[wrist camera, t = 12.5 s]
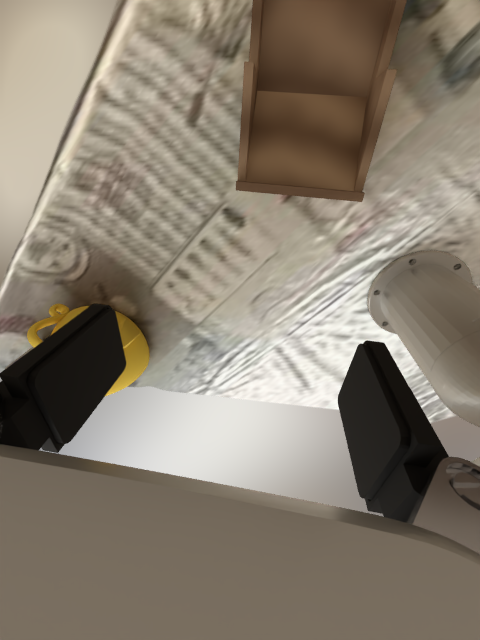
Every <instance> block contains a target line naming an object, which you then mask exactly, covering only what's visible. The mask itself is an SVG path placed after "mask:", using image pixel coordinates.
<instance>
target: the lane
mask: <svg viewBox="0 0 480 640" xmlns="http://www.w3.org/2000/svg"><path fill="white" fill-rule="evenodd" d="M406 1H407V0H253V8H252V24H251V39H250V55H249V62H244V80H243V97H242V114H241V132H240V149H239V167H238V181H236V190H239V191H250V192H261V193H271V194H282V195H293V196H304V197H315V198H325V199H336V200H347V201H358V202H362V200H363V197H364V194H365V193H364V192H362V190H363V187H364V183H365V180H366V176H367V173H368V169H369V166H370V162H371V159H372V156H373V152H374V149H375V145H376V142H377V138H378V135H379V131H380V128H381V124H382V121H383V118H384V114H385V111H386V107H387V104H388V100H389V97H390V93H391V90H392V86H393V83H394V80H395V76H396V73H397V69H388V67H389V63H390V59H391V56H392V52H393V49H394V45H395V41H396V38H397V34H398V30H399V27H400V23H401V19H402V16H403V12H404V9H405V5H406Z"/></svg>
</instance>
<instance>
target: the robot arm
mask: <svg viewBox="0 0 480 640" xmlns="http://www.w3.org/2000/svg"><path fill="white" fill-rule="evenodd" d="M409 260H411V261H409ZM376 290H377V291H376ZM367 306H368V310H369V313H370V315H371V317H372V318H373V320H374V321H375V322H376V324H377V325H379V326H380V327H381V328H383V329H384V330H386V331H388V332H391V333H395V334H397V335H398V336H399V338H400V339H401V341H402V342H403V344H404V345H405V347H406V348H407V350H408V351H409V353H410V354H411V356H412V357H413V359H414V360H415V362H416V363H417V365H418V366H419V368H420V369H421V371H422V372H423V374H424V375H425V377H426V378H427V380H428V381H429V383H430V384H431V386H432V387H433V389H434V391H435V392H436V394H437V395H438V396H439V398H440V399H441V401H442V402H443V403H444V404H445V405H446V407H448V408H449V409H450V410H451V411H452V412H453V413H454V414H456V415H457V416H459V417H460V418H462V419H463V420H465V421H467V422H469V423H471V424H474V425H475V426H478V427H480V289H479V288H477V287H476V286H474V285H473V284H472V276H471V273H470V270H469V268H468V267H467V266H466V264H465V263H464V262H463V261H461V260H460V259H459V258H457V257H455V256H453V255H451V254H449V253H446V252H442V251H435V250H428V251H419V252H415V253H411V254H408V255H406V256H403V257H401V258H399V259H397V260H395V261H394V262H392V263H391V264H389V265H388V266H387V267H386V268H384V269H383V270H382V271H381V272H380V273H379V275H378V276H377V277H376V278H375V280H374V281H373V283H372V285H371V287H370V290H369V293H368V298H367ZM125 368H126V358H125V353H124V349H123V344H122V339H121V335H120V330H119V326H118V321H117V316H116V312H115V311H114V310H112V308H111V307H110V306H109V305H101V304H92V305H90V306H89V307H88V308H86V309H85V310H84V311H82V312H81V313H80V314H78V315H77V316H76V317H74V318H73V319H72V320H70V321H69V322H68V323H66V324H65V325H64V326H62V327H61V328H60V329H58V330H57V331H56V332H54V333H53V334H52V335H50V336H49V337H48V338H46V339H45V340H44V341H42V342H41V343H40V344H38V345H37V346H36V347H34V348H33V349H32V350H30V351H29V352H28V353H26V354H25V355H24V356H22V357H21V358H20V359H18V360H17V361H16V362H14V363H13V364H12V365H10V366H9V367H8V368H6V369H5V370H4V371H2V372H1V373H0V377H1V379H2V382H0V640H480V457H479V458H477V459H476V460H474V461H471V462H470V461H468V460H465V459H462V458H458V457H449V456H448V454H447V453H446V451H445V449H444V447H443V446H442V444H441V442H440V440H439V439H438V437H437V435H436V433H435V431H434V430H433V428H432V426H431V424H430V422H429V421H428V419H427V417H426V415H425V414H424V412H423V410H422V408H421V407H420V405H419V403H418V401H417V399H416V398H415V396H414V394H413V392H412V391H411V389H410V387H409V386H408V384H407V383H406V381H405V379H404V377H403V375H402V374H401V372H400V370H399V368H398V367H397V365H396V363H395V361H394V359H393V358H392V356H391V354H390V352H389V351H388V349H387V347H386V345H385V344H384V343H381V342H374V341H365V342H364V344H359V345H358V347H357V350H356V352H355V355H354V357H353V360H352V362H351V365H350V367H349V370H348V372H347V375H346V377H345V380H344V382H343V385H342V387H341V390H340V392H339V395H338V405H339V410H340V414H341V418H342V422H343V427H344V431H345V436H346V440H347V444H348V449H349V453H350V457H351V461H352V466H353V470H354V475H355V479H356V483H357V487H358V492H359V495H360V497H361V498H364V499H365V501H366V505H367V509H368V511H372V512H377V513H382V514H383V515H384V517H382V516H378V515H373V514H369V513H364V512H359V511H355V510H350V509H345V508H341V507H336V506H330V505H326V504H321V503H317V502H311V501H306V500H301V499H296V498H290V497H286V496H280V495H275V494H270V493H265V492H260V491H255V490H249V489H244V488H239V487H233V486H228V485H223V484H218V483H213V482H207V481H202V480H197V479H191V478H186V477H180V476H175V475H170V474H164V473H159V472H154V471H149V470H143V469H138V468H133V467H127V466H121V465H116V464H111V463H105V462H100V461H94V460H89V459H83V458H78V457H72V456H67V455H61V454H56V453H58V452H59V451H60V449H61V448H62V447H63V446H64V444H66V443H69V442H70V441H71V440H72V439H73V437H74V436H75V435H76V434H77V432H78V431H79V429H80V428H81V427H82V425H83V424H84V423H85V422H86V420H87V419H88V418H89V416H90V415H91V414H92V412H93V411H94V410H95V408H96V407H97V405H98V404H99V403H100V402H101V400H102V399H103V398H104V397H105V395H106V394H107V393H108V391H109V390H110V389H111V387H112V386H113V385H114V383H115V382H116V381H117V379H118V378H119V377H120V375H121V374H122V373H123V371H124V370H125ZM40 448H42V449H43V450H45V451H51V452H56V453H50V452H44V451H39V449H40Z"/></svg>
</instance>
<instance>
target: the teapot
mask: <svg viewBox="0 0 480 640" xmlns="http://www.w3.org/2000/svg"><path fill="white" fill-rule="evenodd" d="M88 307H89V306H83V307H79V308H76V309H74V310H72V311H70V310H69V308H68V307H67V306H65V305H63V304H55V305H53V306H51V308H50V309H49V313H50V315H51V316H53V317H49V318H46V319H43V320H41V321H38V322H36V323H35V324H33V325H32V326H31V327H30V328H29V330H28V333H27V338H28V341H29V343H30V344H31V345H32V346H33V347H36V346H37V345H38V344H40V343H41V342H42V340H41V339H40V338H39V337H38V335H37V331H38V330H40V329H42V328H44V327H46V326H49V325H52V324H55V323H58V322H59V323H58V324H57V325H56V326H55V328H54V329H53V331H52V333H51V335H52V334H53V333H54V332H56V331H57V330H58V329H60V328H61V327H62V326H64V325H65V324H66V323H68V322H69V321H70V320H72V319H73V318H74V317H76V316H77V315H78V314H80V313H81V312H82V311H84V310H85V309H86V308H88ZM56 311H58V312H60V313H61V314H59V313H58V312H56ZM114 311H115V310H114ZM115 312H116V316H117V321H118V326H119V330H120V335H121V339H122V344H123V349H124V353H125V358H126V368H125V370H124V371H123V373H122V374H121V375H120V377H119V378H118V379H117V381H116V382H115V383H114V385H113V386H112V387H111V389H110V390H109V391H108V393H107V394H106V395H105V396H107V395H110V394H113V393H115V392H117V391H119V390H122V389H124V388H125V387H127V386H128V385H130V384H131V383H133V382H134V381H135V380H136V379H137V378H138V377H139V376H140V375H141V374H142V373H143V372H144V370H145V369H146V367H147V365H148V362H149V347H148V344H147V341H146V339H145V337H144V335H143V333H142V332H141V330H140V329H139V328H138V326H137V325H136V324H135V323H134V322H133V321H131V320H130V319H129V318H128V317H126V316H125V315H123V314H121V313H119V312H117V311H115Z"/></svg>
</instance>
